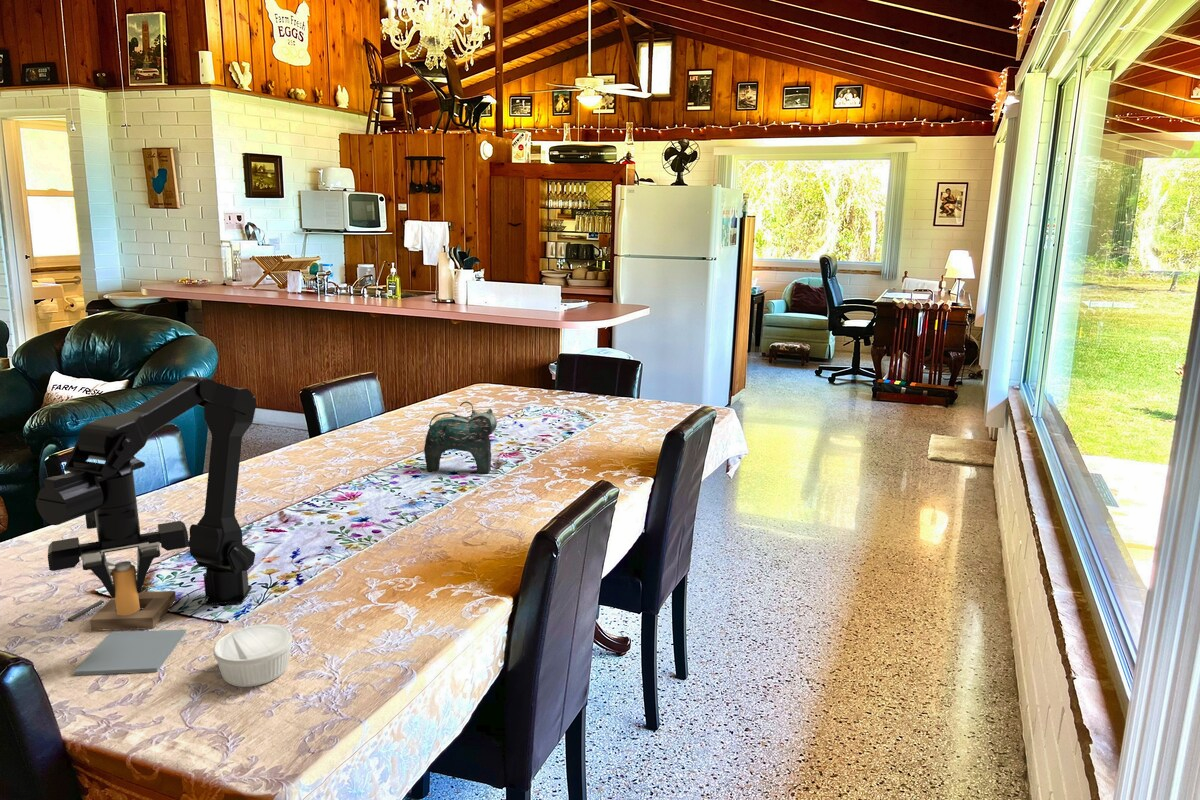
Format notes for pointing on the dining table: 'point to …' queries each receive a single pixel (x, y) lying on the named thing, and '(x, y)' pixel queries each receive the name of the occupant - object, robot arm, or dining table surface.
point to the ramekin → (253, 654)
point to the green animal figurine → (461, 438)
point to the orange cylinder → (125, 588)
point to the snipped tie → (85, 610)
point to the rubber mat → (131, 652)
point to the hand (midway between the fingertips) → (126, 594)
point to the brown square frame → (147, 618)
